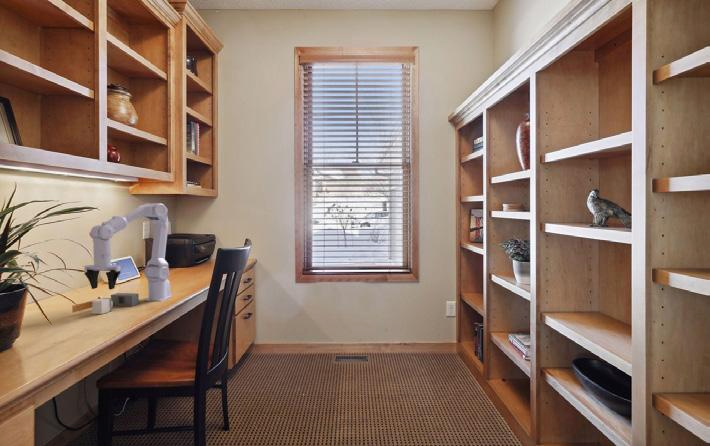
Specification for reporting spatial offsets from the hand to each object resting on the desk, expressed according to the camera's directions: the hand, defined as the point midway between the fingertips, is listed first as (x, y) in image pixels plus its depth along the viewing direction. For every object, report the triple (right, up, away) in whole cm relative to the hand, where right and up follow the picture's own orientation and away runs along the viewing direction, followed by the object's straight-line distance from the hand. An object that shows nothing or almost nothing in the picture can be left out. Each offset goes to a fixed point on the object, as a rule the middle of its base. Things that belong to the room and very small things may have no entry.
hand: (103, 288), depth 159 cm
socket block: (+1, -9, +8) cm, 12 cm away
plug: (0, -9, 0) cm, 9 cm away
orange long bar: (-6, -8, -1) cm, 10 cm away
